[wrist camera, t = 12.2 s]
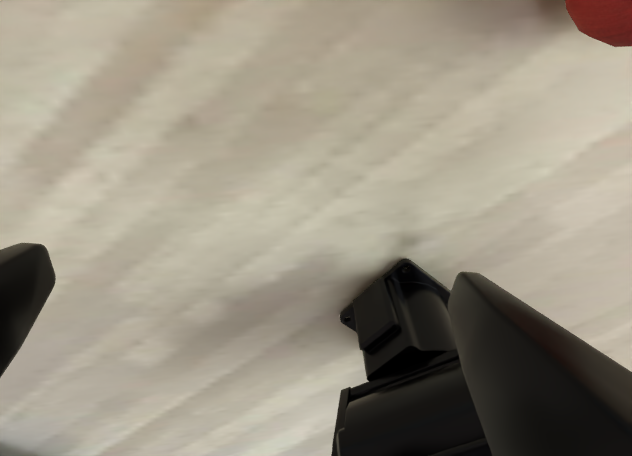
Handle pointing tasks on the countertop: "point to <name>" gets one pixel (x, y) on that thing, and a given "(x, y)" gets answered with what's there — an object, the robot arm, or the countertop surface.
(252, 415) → the countertop surface
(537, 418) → the robot arm
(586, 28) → the onion
